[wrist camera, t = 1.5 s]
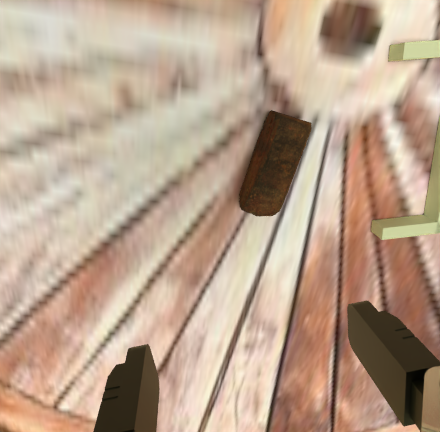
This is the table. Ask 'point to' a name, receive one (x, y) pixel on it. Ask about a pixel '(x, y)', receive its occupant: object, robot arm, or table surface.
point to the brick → (273, 164)
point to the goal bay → (436, 196)
